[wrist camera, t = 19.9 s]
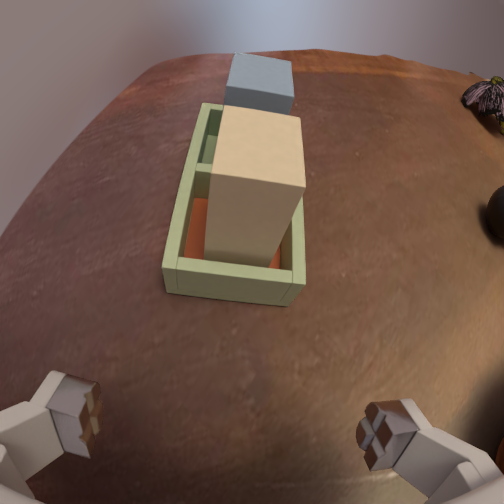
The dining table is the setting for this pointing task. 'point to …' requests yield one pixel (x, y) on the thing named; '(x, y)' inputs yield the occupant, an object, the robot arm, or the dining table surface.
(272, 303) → the holder
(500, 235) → the figurine
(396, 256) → the dining table surface
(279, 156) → the beige rectangular block
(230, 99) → the pale blue upright prism
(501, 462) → the bowl
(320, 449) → the dining table surface
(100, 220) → the dining table surface
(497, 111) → the decorative flower
